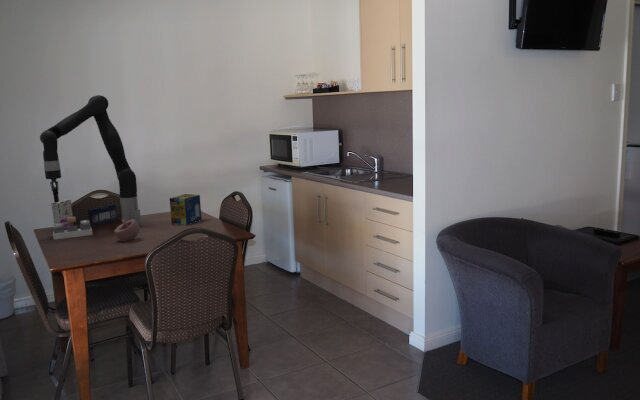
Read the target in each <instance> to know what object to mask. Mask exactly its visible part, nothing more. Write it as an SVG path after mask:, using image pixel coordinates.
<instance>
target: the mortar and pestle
mask: <svg viewBox="0 0 640 400" xmlns="http://www.w3.org/2000/svg"><path fill="white" fill-rule="evenodd" d="M121 222H123V223H122V224H119V225H118V226H117V227H116V228H115V229H114V231H113V232H114V235H115V236H116V238H117V239H119V240H121V241H123V242H129V241H132V240H134V239H135V238H136V237H138V234H139V233H140V226H139V225H138V223H137V222H136V221H135V220H134V219H131V220H128V221H126V222H125V221H124V220H123V219H122V218H121Z"/></svg>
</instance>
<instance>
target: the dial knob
mask: <svg viewBox="0 0 640 400" xmlns="http://www.w3.org/2000/svg"><path fill="white" fill-rule="evenodd" d="M76 221H77V218H76V216H73V217H67V223H70V225H71V226H73V222H74V223H76Z"/></svg>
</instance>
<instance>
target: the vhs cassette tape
mask: <svg viewBox="0 0 640 400" xmlns="http://www.w3.org/2000/svg"><path fill="white" fill-rule="evenodd" d="M87 211H88V213H87V214H88V220H89V224H90V226H91V227H96V226H100V225H101V226H102V225H104V224H109V223H110V224H111V223H112V222H117V221H118V220H119V219H118V218H119V217H118V210H117V204H109V205H103V206H100V207H96V208H90V209H88V210H87Z"/></svg>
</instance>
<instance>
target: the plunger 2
mask: <svg viewBox="0 0 640 400" xmlns="http://www.w3.org/2000/svg"><path fill="white" fill-rule="evenodd" d="M80 225H81V226H87V225H90V222H89V219H83V220H80Z"/></svg>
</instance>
